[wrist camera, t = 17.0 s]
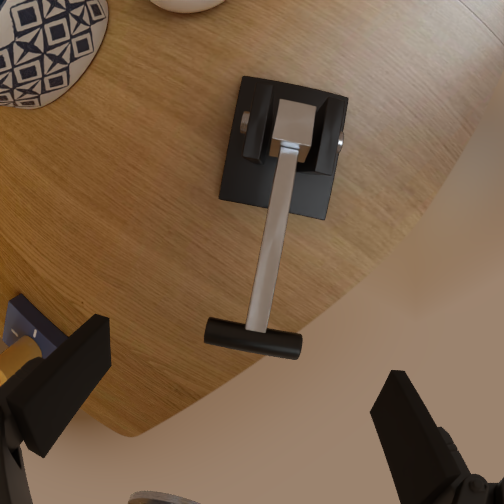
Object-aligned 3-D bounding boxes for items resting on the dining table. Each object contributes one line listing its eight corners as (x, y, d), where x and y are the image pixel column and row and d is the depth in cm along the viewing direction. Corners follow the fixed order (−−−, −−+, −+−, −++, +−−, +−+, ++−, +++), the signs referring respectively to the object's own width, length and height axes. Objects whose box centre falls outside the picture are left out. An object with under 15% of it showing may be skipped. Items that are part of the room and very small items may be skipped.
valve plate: (79, 346, 35) (68, 358, 32) (65, 380, 37) (56, 391, 34) (21, 293, 34) (7, 301, 31) (13, 331, 36) (1, 340, 33)
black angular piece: (322, 218, 29) (358, 251, 17) (220, 197, 29) (185, 217, 17) (345, 100, 26) (393, 57, 14) (243, 80, 26) (225, 21, 14)
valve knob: (23, 329, 32) (-14, 357, 24) (44, 349, 32) (10, 382, 24) (19, 347, 33) (-14, 375, 25) (39, 367, 33) (8, 398, 25)
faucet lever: (293, 354, 17) (300, 365, 14) (207, 338, 17) (200, 346, 14) (330, 130, 18) (339, 112, 16) (254, 114, 18) (255, 94, 16)
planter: (-2, 117, 28) (-90, 115, 12) (27, 8, 23) (-42, -23, 7) (93, 102, 27) (-17, 73, 11) (127, -25, 22) (63, -92, 6)
